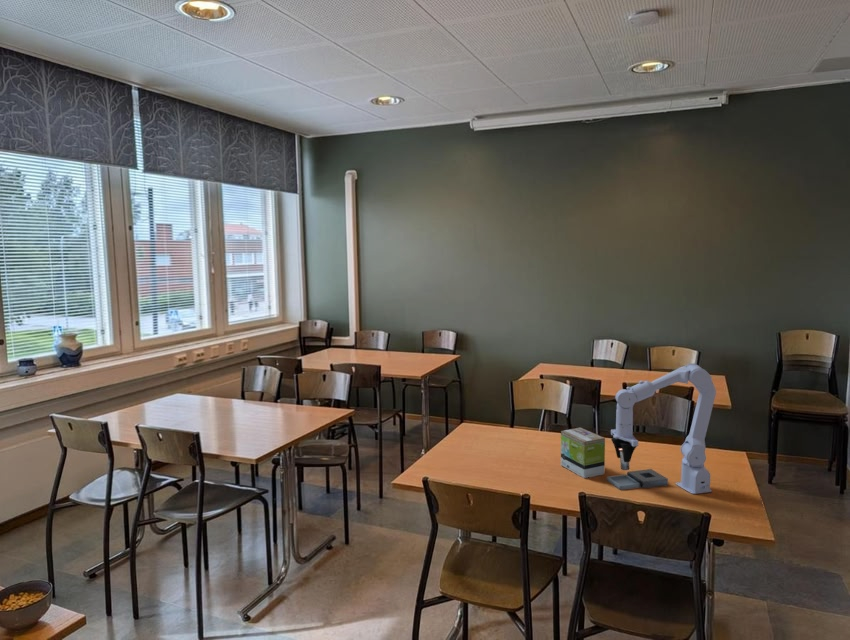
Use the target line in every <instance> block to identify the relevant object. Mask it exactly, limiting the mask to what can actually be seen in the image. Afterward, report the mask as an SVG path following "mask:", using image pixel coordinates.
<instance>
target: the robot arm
mask: <svg viewBox="0 0 850 640" xmlns="http://www.w3.org/2000/svg"><path fill="white" fill-rule="evenodd" d="M689 382H690V384H691V385H693V386H694V387H695V389H696V390H697V391H698V397H697V401H696V403H695V409H694V413H693V416H692V417H693V418H692V421H691V426H690V430H689V433H688V435H687V436H685V437H686V438H685V440H684V442H683V444H681V446H680V453H681V454H682V456H683V457H682V459H681V471H680V472H681V474H680V475H681V476H680V482H675V485H676V486H678V487H680V488H682V489H683V490H685V491H686V492H688V493H690V494H692V495H696V494H703V493H711V492H712V489H711V473H710V471H709V470H708V469H707V468H706V466H705V463H706V460H707V455H706V449H707V448H706V447H707V446H706V441H705V438H706V436H707V431H708V427H709V423H710V420H711V416H712V412H713V406H714V403H715V399H716V396H717V389H716V387H715V383H714V382H713V379H712V375H710V373H708V371H707V370H706V369H704V368H702V367H701V366H700V365H698V364H696V363H688V364H686V365H684V366H680V367H678V368H676V369H675V370H672V371H670V372H668V373H666V374H664V375H662V376H659V377H658V378H656V379H654V380H652V381H649V380H642V379H641V380H639V381H638V383H637V384H635V385H633V386H627V387H626V389H624V388H623V389H622V388H621V389H619V390H618V391H617V393H616V394H615V396H614V399H615V401H616V402H617V403H616V410H615V411H616V412H615V414H616V415H615V416H616V417H615V428H614V429H610V435H611V436H612V438H611V442H612V444H613V446H614V449H615V454H616V458H617V459H620V451H619V450H618V448H619V447H620V446H621V447H622V450H623V459H624V462H629V463H631V460H632V457H633V453H634V451H635V450H636V448H637V447H638V446H639V440H638V439H637V438H636V437H635V435H633V434H634V432H633V431H634V430H633V429H634V427H633V425H634V423H633V422H634V410H633V409H634V406H635V403H639V402H641V401H643V400H645V399H648V398H650V397H652V396H654V395H655V393H656V391H657V390H661V389H663V388H665V387H668V386H670V385H674V384H677V383H681V384H686V385H687V384H689Z"/></svg>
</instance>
